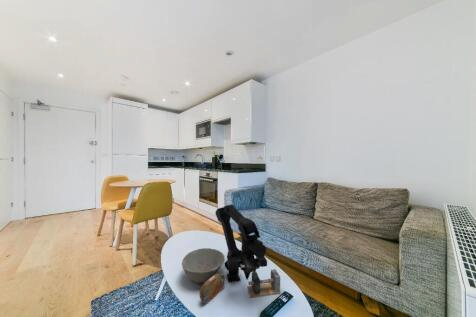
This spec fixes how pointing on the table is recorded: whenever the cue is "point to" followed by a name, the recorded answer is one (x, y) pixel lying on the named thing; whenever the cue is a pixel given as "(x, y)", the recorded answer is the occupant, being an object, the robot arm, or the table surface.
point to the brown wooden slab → (212, 287)
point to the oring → (256, 283)
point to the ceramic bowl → (202, 264)
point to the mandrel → (266, 286)
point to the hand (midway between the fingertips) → (246, 279)
